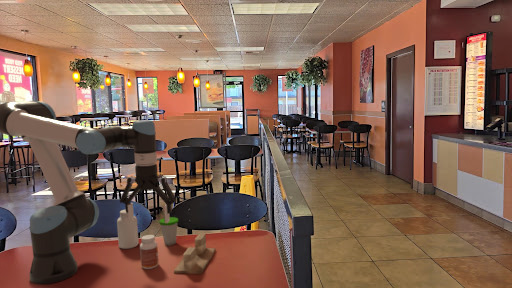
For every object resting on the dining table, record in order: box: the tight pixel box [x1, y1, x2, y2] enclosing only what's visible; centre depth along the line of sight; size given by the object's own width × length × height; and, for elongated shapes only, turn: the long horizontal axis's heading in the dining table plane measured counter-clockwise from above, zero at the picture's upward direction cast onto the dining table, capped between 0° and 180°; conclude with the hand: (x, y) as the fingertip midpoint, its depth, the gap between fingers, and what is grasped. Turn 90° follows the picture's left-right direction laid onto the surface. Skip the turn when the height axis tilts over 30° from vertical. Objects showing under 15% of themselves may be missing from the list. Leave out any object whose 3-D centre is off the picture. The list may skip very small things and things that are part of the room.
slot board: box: [173, 233, 216, 275], centre depth 145 cm, size 10×20×7 cm, turn 172°
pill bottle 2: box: [139, 234, 159, 270], centre depth 142 cm, size 6×6×11 cm
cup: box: [158, 211, 179, 247], centre depth 162 cm, size 8×8×15 cm
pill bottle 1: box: [116, 208, 139, 250], centre depth 162 cm, size 8×8×15 cm
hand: (149, 221), depth 141 cm, fingers open, 13 cm apart
